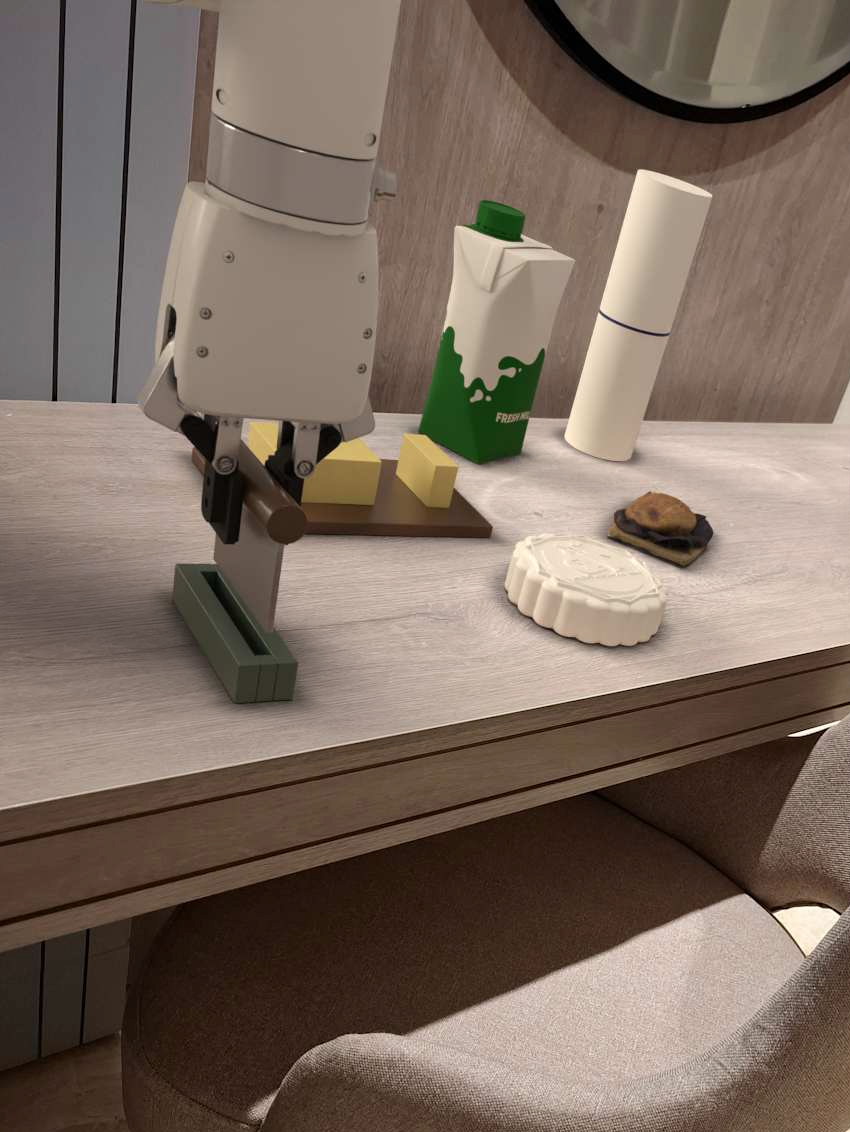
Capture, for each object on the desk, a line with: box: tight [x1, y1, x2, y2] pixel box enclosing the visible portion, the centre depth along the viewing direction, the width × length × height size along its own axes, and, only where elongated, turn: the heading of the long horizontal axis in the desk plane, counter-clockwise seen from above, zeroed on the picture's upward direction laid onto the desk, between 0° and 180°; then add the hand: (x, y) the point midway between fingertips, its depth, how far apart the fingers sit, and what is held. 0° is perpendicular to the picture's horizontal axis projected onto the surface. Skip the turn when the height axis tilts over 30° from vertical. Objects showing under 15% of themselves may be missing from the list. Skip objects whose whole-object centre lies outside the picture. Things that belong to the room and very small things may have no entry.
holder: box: [171, 562, 299, 704], centre depth 70 cm, size 3×12×2 cm, turn 33°
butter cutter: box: [212, 439, 308, 633], centre depth 66 cm, size 2×10×8 cm, turn 33°
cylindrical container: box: [563, 169, 713, 462], centre depth 114 cm, size 7×7×25 cm
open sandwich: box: [606, 491, 714, 567], centre depth 105 cm, size 11×8×4 cm
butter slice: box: [396, 432, 459, 508], centre depth 94 cm, size 2×6×4 cm, turn 33°
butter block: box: [247, 421, 382, 505], centre depth 89 cm, size 8×6×4 cm
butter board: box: [191, 446, 494, 538], centre depth 92 cm, size 20×12×1 cm, turn 123°
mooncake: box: [504, 531, 669, 647], centre depth 88 cm, size 12×12×4 cm
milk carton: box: [417, 199, 576, 465], centre depth 105 cm, size 9×9×20 cm
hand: (248, 531), depth 66 cm, fingers closed on butter cutter, 2 cm apart
